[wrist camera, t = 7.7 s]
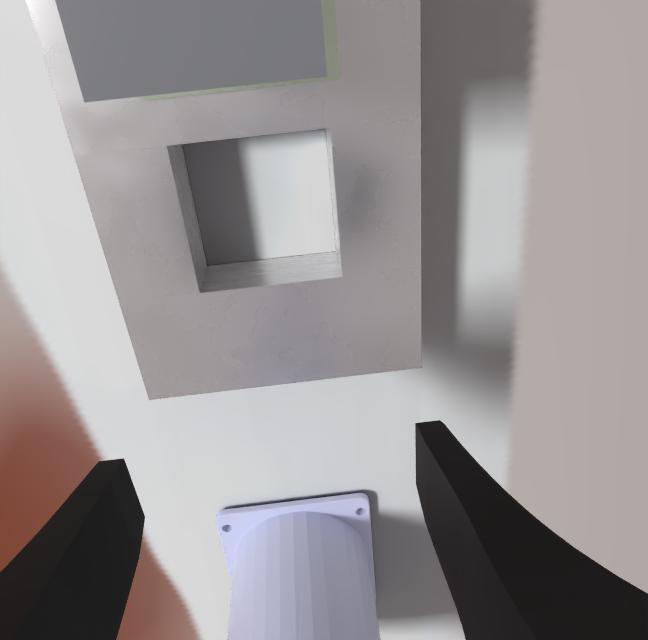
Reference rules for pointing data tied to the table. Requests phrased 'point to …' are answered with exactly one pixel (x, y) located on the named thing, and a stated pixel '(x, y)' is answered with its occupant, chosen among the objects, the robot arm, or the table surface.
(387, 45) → the plate
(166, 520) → the table surface
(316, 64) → the grey rectangular block
